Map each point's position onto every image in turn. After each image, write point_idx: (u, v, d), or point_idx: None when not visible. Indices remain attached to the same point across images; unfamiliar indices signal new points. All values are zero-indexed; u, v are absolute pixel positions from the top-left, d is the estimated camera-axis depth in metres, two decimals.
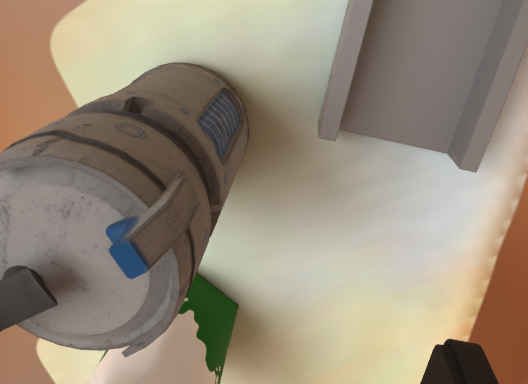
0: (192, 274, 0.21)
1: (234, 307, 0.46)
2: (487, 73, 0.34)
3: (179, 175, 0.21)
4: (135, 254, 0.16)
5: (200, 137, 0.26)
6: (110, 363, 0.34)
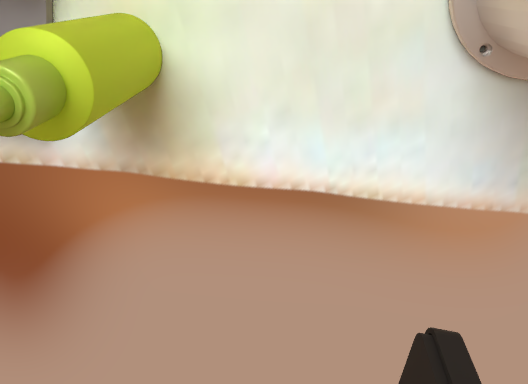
0: None
1: None
2: None
3: None
4: None
5: None
6: None
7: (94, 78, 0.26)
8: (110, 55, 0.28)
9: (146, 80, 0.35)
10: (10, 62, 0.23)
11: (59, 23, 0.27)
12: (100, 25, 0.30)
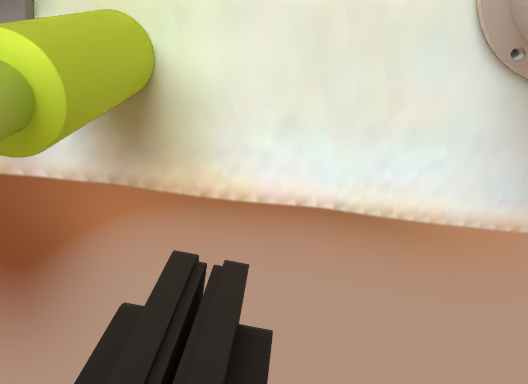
0: None
1: None
2: None
3: None
4: None
5: None
6: None
7: (67, 86, 0.22)
8: (89, 58, 0.25)
9: (135, 85, 0.32)
10: None
11: (29, 21, 0.24)
12: (80, 23, 0.26)
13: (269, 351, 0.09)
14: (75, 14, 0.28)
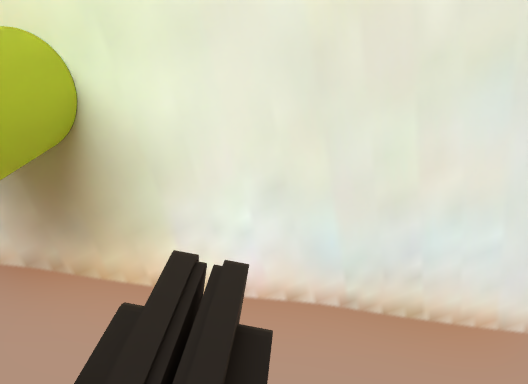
0: None
1: None
2: None
3: None
4: None
5: None
6: None
7: None
8: None
9: (39, 143, 0.21)
10: None
11: None
12: None
13: (269, 351, 0.09)
14: None
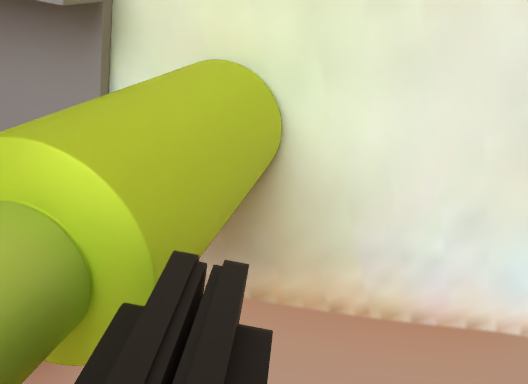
0: None
1: None
2: None
3: None
4: None
5: None
6: None
7: (159, 256, 0.11)
8: (199, 174, 0.13)
9: (255, 182, 0.20)
10: None
11: (99, 108, 0.13)
12: (185, 101, 0.15)
13: (269, 351, 0.09)
14: (176, 78, 0.17)
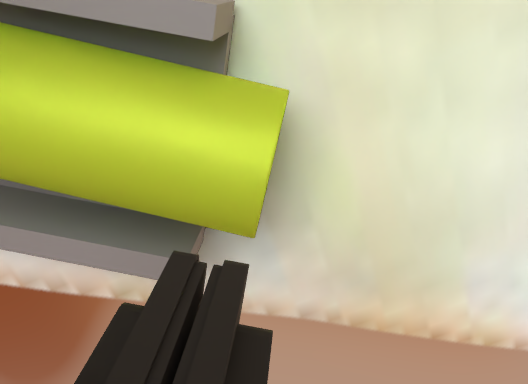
0: None
1: None
2: (53, 216, 0.22)
3: None
4: None
5: None
6: None
7: None
8: None
9: (169, 192, 0.17)
10: None
11: (23, 28, 0.19)
12: (87, 52, 0.18)
13: (269, 351, 0.09)
14: (152, 58, 0.19)
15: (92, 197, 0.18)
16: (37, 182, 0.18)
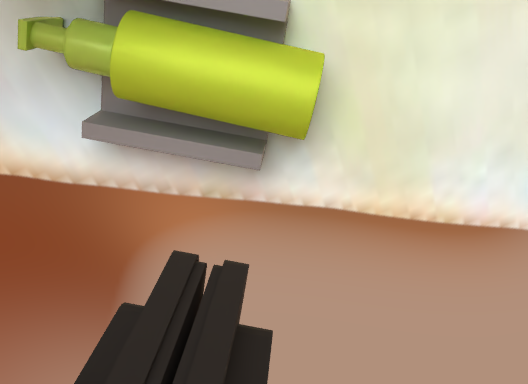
0: None
1: None
2: (177, 132, 0.37)
3: None
4: None
5: None
6: None
7: (117, 50, 0.31)
8: (169, 48, 0.31)
9: (260, 111, 0.32)
10: (86, 20, 0.33)
11: (173, 19, 0.33)
12: (213, 33, 0.32)
13: (269, 351, 0.09)
14: (246, 36, 0.33)
15: (214, 116, 0.33)
16: (184, 107, 0.33)
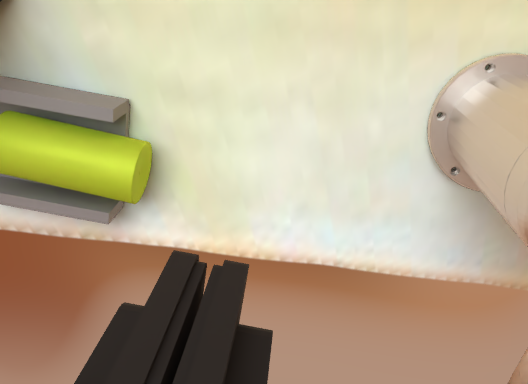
0: None
1: None
2: (50, 194, 0.49)
3: None
4: None
5: None
6: None
7: None
8: (27, 142, 0.43)
9: (95, 186, 0.44)
10: None
11: (36, 118, 0.45)
12: (62, 130, 0.44)
13: (269, 351, 0.09)
14: (89, 130, 0.45)
15: (66, 187, 0.45)
16: (44, 182, 0.45)
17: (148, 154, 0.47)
